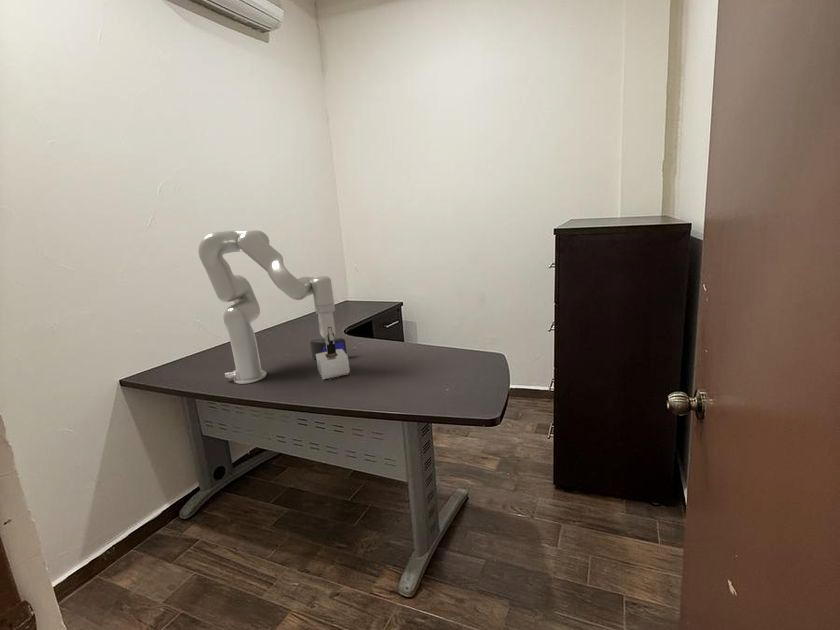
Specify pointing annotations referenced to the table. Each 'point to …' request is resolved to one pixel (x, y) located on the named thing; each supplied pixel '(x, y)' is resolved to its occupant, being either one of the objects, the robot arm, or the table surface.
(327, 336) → the dowel
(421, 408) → the table surface
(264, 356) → the table surface
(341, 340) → the leaning round-cornered charcoal block
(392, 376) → the table surface
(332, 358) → the bore block
